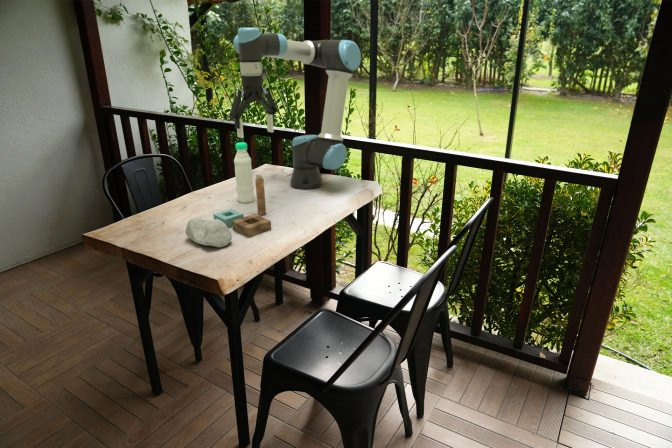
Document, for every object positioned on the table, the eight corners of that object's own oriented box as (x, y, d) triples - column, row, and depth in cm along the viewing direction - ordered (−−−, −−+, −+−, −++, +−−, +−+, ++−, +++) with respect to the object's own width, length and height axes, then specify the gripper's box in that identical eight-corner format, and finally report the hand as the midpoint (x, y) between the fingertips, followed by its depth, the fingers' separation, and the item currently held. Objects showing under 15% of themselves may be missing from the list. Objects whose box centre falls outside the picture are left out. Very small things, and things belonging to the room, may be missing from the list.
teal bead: (232, 217, 183) (231, 208, 182) (244, 222, 178) (243, 213, 176) (214, 222, 178) (213, 214, 176) (225, 228, 173) (225, 219, 171)
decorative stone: (240, 233, 162) (224, 216, 154) (225, 257, 157) (209, 241, 150) (205, 227, 171) (189, 210, 163) (190, 249, 166) (173, 233, 159)
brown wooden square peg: (262, 212, 188) (260, 173, 182) (267, 214, 186) (265, 175, 180) (256, 214, 186) (253, 175, 180) (261, 216, 184) (258, 177, 177)
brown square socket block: (255, 222, 178) (254, 213, 176) (271, 229, 171) (270, 220, 170) (232, 229, 171) (231, 221, 170) (248, 237, 165) (248, 228, 163)
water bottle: (250, 203, 197) (246, 145, 187) (235, 202, 198) (229, 144, 189) (256, 198, 203) (252, 141, 194) (241, 197, 205) (236, 140, 195)
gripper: (227, 77, 155) (233, 141, 163) (285, 73, 171) (288, 131, 179) (215, 76, 160) (221, 138, 168) (273, 72, 176) (276, 128, 184)
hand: (255, 134), depth 173 cm, fingers open, 13 cm apart
